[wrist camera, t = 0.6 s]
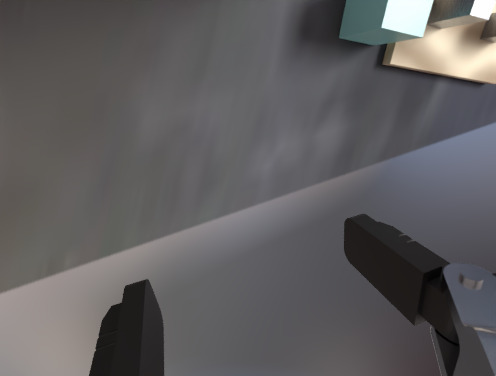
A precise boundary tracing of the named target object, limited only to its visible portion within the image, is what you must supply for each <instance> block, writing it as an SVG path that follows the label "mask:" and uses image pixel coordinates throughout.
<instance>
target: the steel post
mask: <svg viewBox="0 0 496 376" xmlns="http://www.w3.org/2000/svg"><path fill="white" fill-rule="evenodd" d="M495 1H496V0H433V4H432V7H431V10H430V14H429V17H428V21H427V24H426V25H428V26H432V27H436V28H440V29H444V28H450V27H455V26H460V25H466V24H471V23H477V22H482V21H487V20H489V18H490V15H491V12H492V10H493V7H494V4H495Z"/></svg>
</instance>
